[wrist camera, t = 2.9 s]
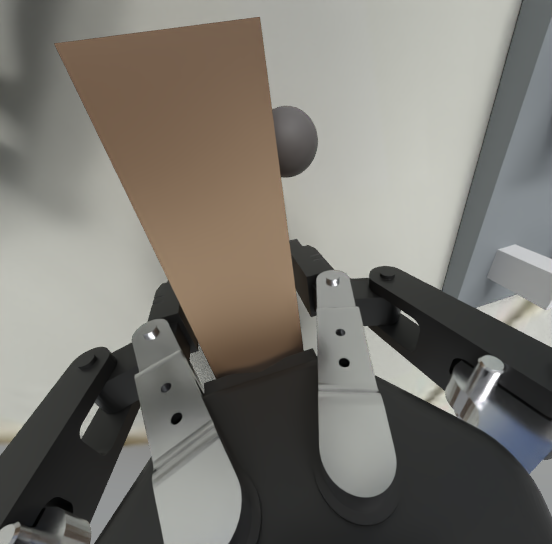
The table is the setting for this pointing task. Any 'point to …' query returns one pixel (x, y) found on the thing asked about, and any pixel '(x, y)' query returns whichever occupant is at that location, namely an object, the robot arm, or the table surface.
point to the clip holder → (512, 180)
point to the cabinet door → (205, 175)
